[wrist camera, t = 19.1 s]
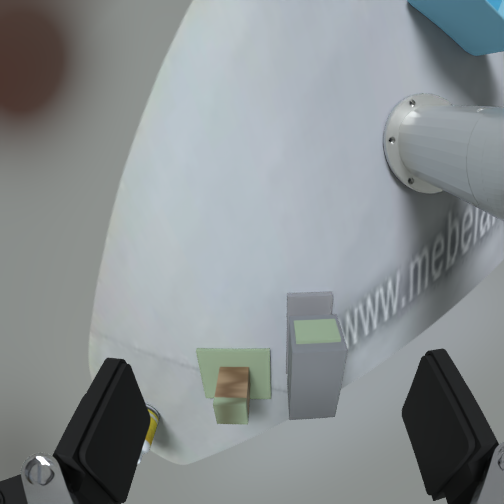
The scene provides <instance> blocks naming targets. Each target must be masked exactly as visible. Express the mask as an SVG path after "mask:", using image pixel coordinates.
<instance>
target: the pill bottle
mask: <svg viewBox="0 0 504 504" xmlns="http://www.w3.org/2000/svg"><path fill="white" fill-rule="evenodd" d="M146 406H147V409H148V411H149V413H150V417H151V422H150V426H149V429H148V432H147V435H146V439H145V442H144V445H143V448H142V451H141V454H140V457H139V460H138V464H139V463H140V462H141V459H142V454H145V453H147V452H148V451H149V450H150V447H151V444H152V441H153V438H154V434H155V431H156V428H157V424H158V421H159V415H158V413H157V411H156V410H155V409H154V408H152V407H151V406H149V405H147V404H146Z"/></svg>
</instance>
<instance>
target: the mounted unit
mask: <svg viewBox="0 0 504 504" xmlns="http://www.w3.org/2000/svg"><path fill="white" fill-rule="evenodd" d="M332 300H333V294H332V292H309V293H287V352H286V374H288V378H287V385H288V403H289V420H296V419H313V418H327V417H335V414H336V409H337V404H338V399H339V395H340V390H341V385H342V379H343V374H344V368H345V363H346V357H347V351H348V349H347V346H346V343H345V340H344V336H343V333H342V330H341V327H340V324H339V321H338V317H337V314H332V315H331V312H332Z"/></svg>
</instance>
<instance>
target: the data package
mask: <svg viewBox="0 0 504 504" xmlns="http://www.w3.org/2000/svg"><path fill="white" fill-rule="evenodd" d="M408 2H409V3H410V4H411V5H412V6H413V7H414V8H416V9H417V10H418V11H420V12H421V13H422V14H423V15H425V16H426V17H427V18H428V19H430V20H431V21H432V22H433V23H435V24H436V25H437V26H438V27H439V28H441V29H442V30H443V31H444V32H445V33H446V34H447V35H449V36H450V37H451V38H452V39H453V40H454V41H455V42H456V43H457V44H459V45H460V46H461V47H462V48H463V49H464V50H465V51H466V52H468V53H469V54H472V55H475V56H479V55H485V54H490V53H496V52H502V51H504V0H408Z"/></svg>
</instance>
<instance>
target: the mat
mask: <svg viewBox="0 0 504 504" xmlns="http://www.w3.org/2000/svg"><path fill="white" fill-rule="evenodd" d="M196 353H197V358H198V363H199V368H200V373H201V377H202V382H203V387H204V391H205V396H206V398H214V396H215V391H216V385H217V379H218V373H219V368H220V367H249V375H250V399H271V390H270V349H203V348H197V349H196Z"/></svg>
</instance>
